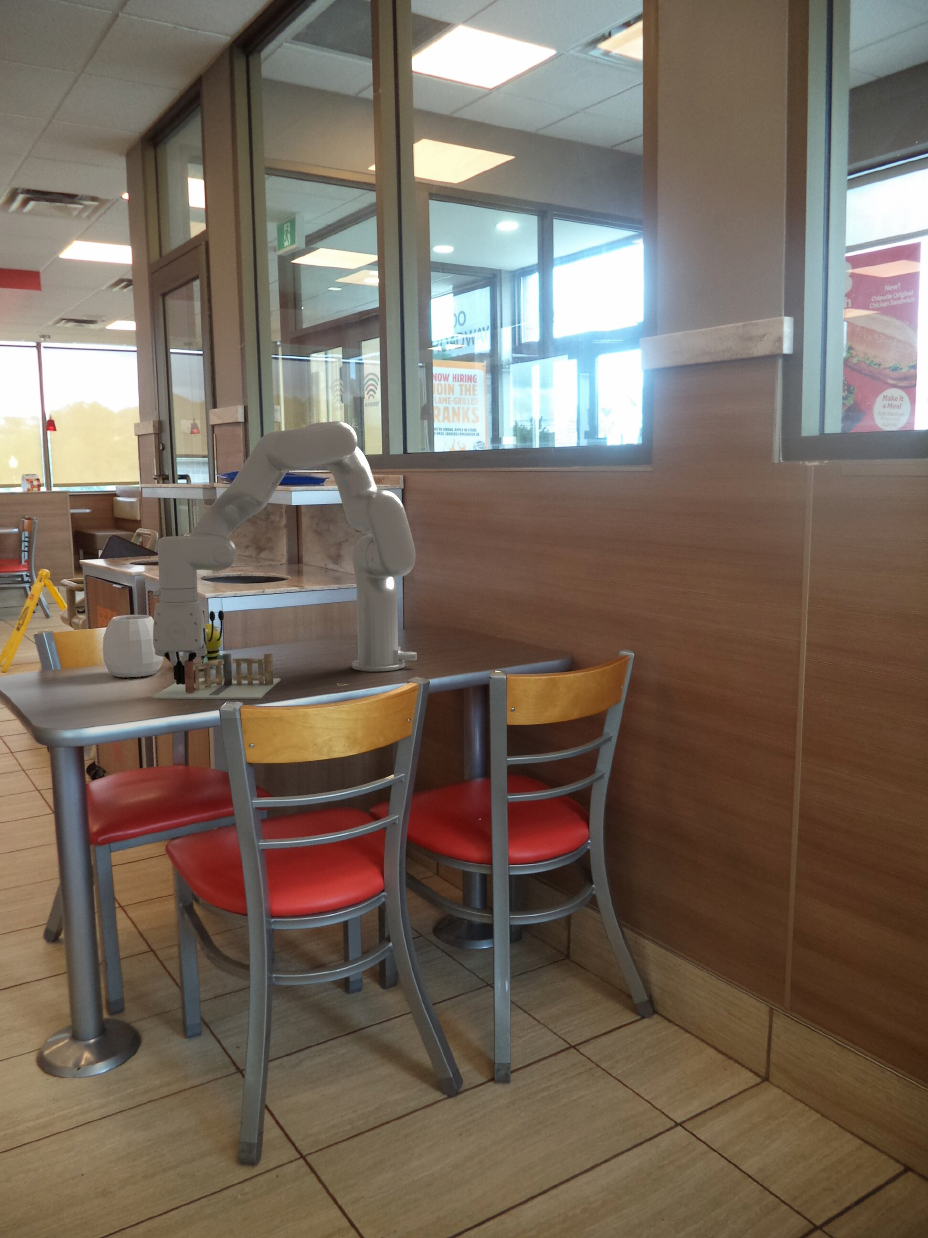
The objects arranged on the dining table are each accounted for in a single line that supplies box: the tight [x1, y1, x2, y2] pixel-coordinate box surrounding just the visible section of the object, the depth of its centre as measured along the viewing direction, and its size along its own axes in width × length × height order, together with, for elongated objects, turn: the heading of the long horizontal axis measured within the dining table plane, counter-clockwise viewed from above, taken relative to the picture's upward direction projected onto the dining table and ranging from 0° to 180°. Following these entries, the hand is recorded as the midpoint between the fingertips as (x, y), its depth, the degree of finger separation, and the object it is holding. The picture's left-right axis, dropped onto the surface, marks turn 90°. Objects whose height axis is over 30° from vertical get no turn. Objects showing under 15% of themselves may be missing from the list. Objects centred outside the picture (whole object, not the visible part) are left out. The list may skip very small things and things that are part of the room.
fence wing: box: [184, 659, 225, 693], centre depth 203 cm, size 10×2×6 cm, turn 148°
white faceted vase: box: [102, 614, 165, 678], centre depth 221 cm, size 13×13×14 cm
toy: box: [200, 609, 225, 667], centre depth 230 cm, size 6×14×15 cm
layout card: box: [152, 677, 281, 700], centre depth 206 cm, size 22×19×1 cm
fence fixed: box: [221, 653, 274, 685], centre depth 208 cm, size 11×2×7 cm, turn 88°
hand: (182, 683), depth 202 cm, fingers closed
